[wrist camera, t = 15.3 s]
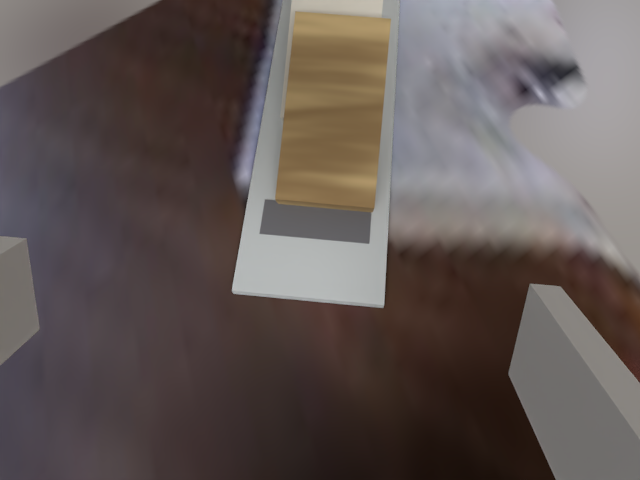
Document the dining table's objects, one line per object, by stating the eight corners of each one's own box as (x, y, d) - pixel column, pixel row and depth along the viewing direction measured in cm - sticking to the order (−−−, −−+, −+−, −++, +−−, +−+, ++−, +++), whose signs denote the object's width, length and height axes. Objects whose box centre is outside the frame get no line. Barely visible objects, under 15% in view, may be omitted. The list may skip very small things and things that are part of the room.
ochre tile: (374, 208, 31) (390, 18, 32) (275, 199, 31) (295, 11, 33) (372, 212, 33) (388, 31, 34) (277, 203, 33) (297, 24, 34)
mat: (383, 308, 31) (384, 304, 30) (233, 293, 31) (231, 290, 31) (399, 1, 41) (400, -6, 40) (285, -7, 41) (284, -14, 41)
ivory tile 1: (372, 124, 34) (387, -54, 34) (280, 117, 34) (297, -61, 35) (370, 131, 35) (385, -40, 36) (282, 123, 36) (299, -46, 36)
